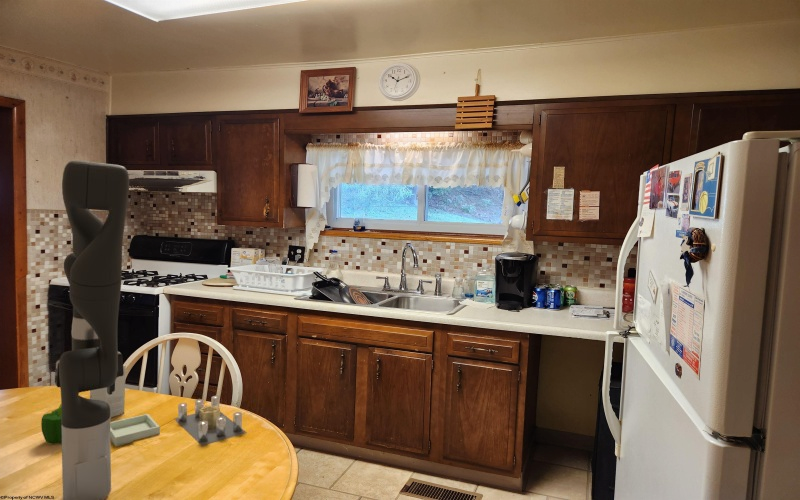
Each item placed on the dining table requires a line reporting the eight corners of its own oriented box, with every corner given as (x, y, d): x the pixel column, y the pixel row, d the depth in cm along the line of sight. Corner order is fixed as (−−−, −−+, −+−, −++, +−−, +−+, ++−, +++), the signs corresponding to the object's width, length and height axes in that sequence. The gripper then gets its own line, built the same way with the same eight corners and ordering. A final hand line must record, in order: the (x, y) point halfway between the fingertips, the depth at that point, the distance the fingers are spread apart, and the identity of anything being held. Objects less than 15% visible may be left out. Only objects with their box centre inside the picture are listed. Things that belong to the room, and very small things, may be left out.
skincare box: (89, 414, 154) (88, 364, 153) (110, 407, 160) (109, 359, 159) (105, 420, 151) (105, 369, 149) (126, 412, 156) (126, 364, 155)
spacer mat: (246, 434, 145) (246, 432, 145) (201, 447, 136) (201, 445, 136) (216, 409, 161) (216, 408, 161) (173, 420, 152) (173, 418, 152)
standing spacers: (243, 430, 146) (243, 414, 146) (200, 442, 138) (200, 425, 137) (217, 410, 160) (217, 395, 159) (177, 420, 151) (177, 404, 151)
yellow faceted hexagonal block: (221, 426, 148) (221, 410, 148) (204, 431, 145) (205, 414, 144) (213, 420, 153) (214, 404, 152) (197, 424, 149) (197, 408, 149)
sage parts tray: (159, 435, 143) (159, 426, 142) (115, 446, 135) (115, 437, 135) (147, 421, 151) (147, 413, 151) (105, 431, 143) (105, 423, 143)
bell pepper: (60, 449, 132) (59, 413, 131) (34, 445, 134) (33, 409, 133) (86, 435, 140) (85, 401, 140) (61, 432, 142) (60, 397, 141)
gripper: (58, 342, 115) (58, 410, 116) (126, 333, 124) (126, 396, 126) (52, 333, 120) (52, 398, 122) (118, 326, 130) (118, 386, 131)
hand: (90, 397), depth 124 cm, fingers open, 8 cm apart
